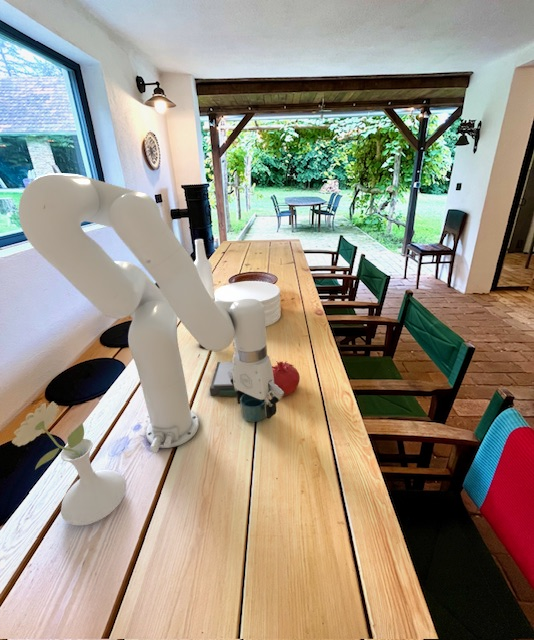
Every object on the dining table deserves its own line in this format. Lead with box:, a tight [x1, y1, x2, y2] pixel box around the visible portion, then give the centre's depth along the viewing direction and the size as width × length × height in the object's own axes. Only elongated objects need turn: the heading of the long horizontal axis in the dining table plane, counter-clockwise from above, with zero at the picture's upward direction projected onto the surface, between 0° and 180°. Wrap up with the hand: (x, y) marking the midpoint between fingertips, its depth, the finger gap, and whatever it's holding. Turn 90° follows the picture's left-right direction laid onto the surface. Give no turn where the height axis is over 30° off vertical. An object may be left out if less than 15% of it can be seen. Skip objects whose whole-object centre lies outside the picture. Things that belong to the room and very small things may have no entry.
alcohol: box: [193, 238, 215, 301], centre depth 156 cm, size 9×9×30 cm
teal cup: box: [239, 393, 267, 423], centre depth 83 cm, size 7×7×5 cm
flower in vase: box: [11, 400, 127, 526], centre depth 57 cm, size 13×11×25 cm
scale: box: [209, 361, 237, 397], centre depth 97 cm, size 15×12×3 cm
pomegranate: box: [272, 360, 301, 397], centre depth 91 cm, size 10×10×9 cm
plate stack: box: [214, 280, 282, 328], centre depth 140 cm, size 28×28×12 cm
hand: (256, 408), depth 83 cm, fingers open, 9 cm apart
